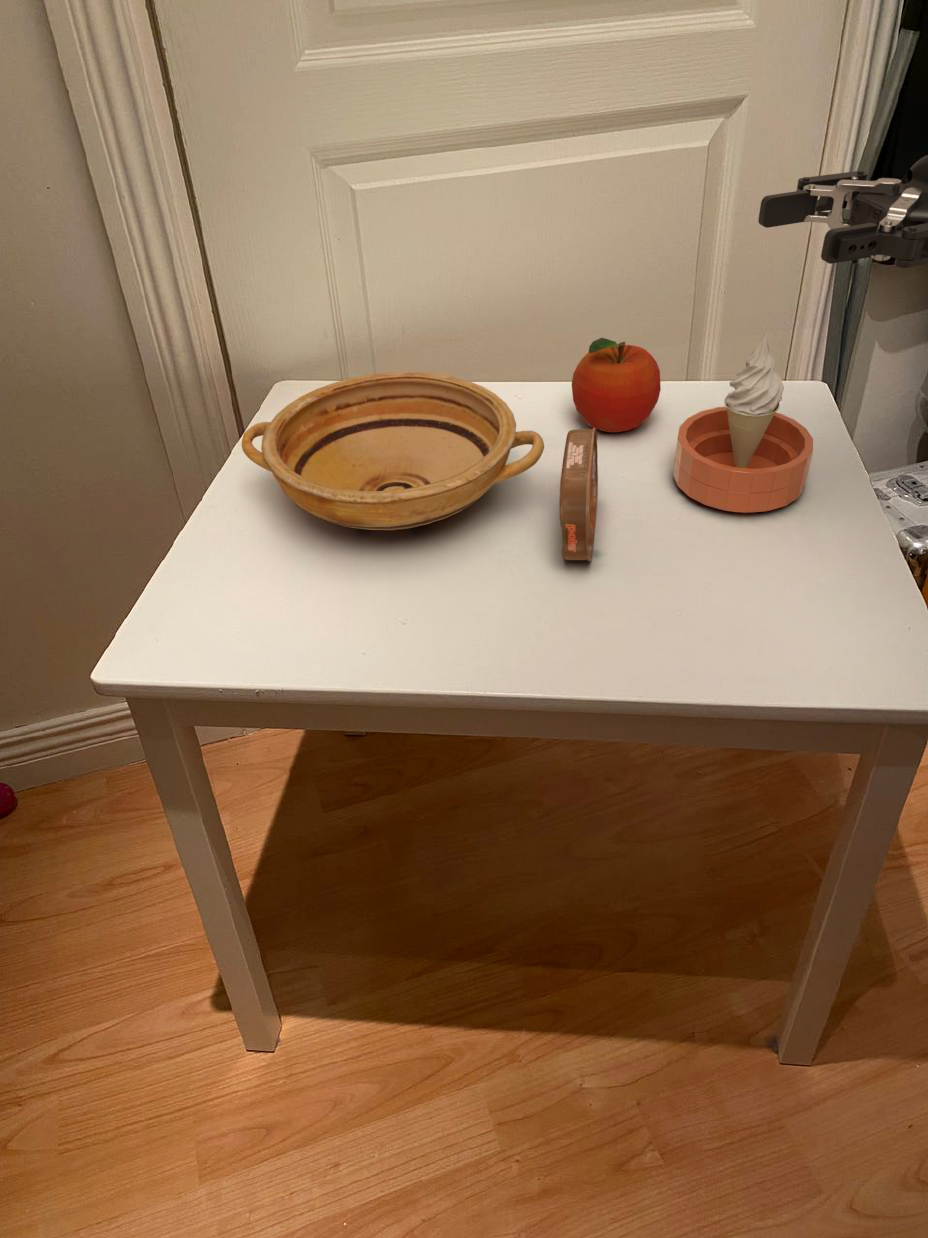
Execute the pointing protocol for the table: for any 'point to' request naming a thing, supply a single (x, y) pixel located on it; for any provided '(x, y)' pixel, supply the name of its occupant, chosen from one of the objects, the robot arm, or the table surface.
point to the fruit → (615, 386)
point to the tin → (579, 494)
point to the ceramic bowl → (391, 449)
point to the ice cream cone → (753, 402)
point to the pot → (722, 485)
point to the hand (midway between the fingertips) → (792, 229)
